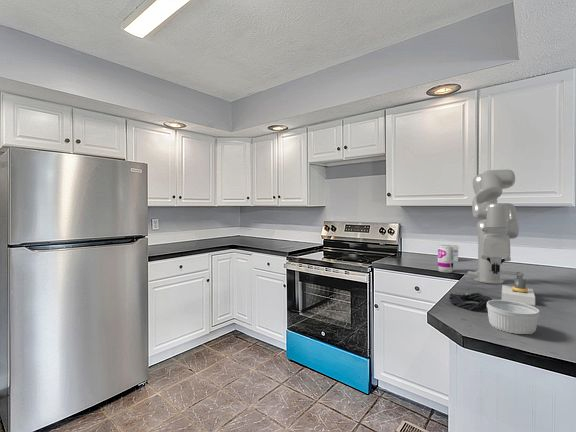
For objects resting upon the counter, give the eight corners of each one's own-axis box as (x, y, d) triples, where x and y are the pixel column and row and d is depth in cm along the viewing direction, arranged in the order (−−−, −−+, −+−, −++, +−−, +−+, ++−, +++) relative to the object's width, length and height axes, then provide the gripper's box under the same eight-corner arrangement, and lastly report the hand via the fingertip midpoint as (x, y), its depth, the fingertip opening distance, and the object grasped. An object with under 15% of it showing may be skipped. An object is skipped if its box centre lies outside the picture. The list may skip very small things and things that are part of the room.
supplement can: (444, 273, 175) (445, 247, 174) (434, 270, 183) (434, 245, 182) (456, 272, 177) (456, 246, 177) (445, 269, 185) (446, 244, 184)
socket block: (501, 300, 123) (502, 280, 123) (502, 291, 136) (502, 273, 136) (535, 305, 117) (535, 284, 117) (532, 295, 130) (532, 276, 130)
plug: (511, 298, 125) (512, 279, 125) (511, 295, 129) (512, 277, 129) (527, 301, 122) (528, 281, 122) (527, 298, 126) (527, 278, 126)
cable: (494, 315, 107) (494, 303, 106) (448, 308, 113) (449, 297, 113) (488, 302, 122) (489, 291, 122) (449, 297, 128) (449, 286, 128)
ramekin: (547, 340, 86) (547, 316, 86) (492, 333, 91) (492, 310, 90) (529, 323, 98) (530, 302, 98) (482, 318, 103) (482, 297, 103)
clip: (488, 272, 138) (488, 268, 138) (523, 275, 131) (523, 271, 131) (488, 273, 136) (488, 269, 136) (523, 276, 129) (523, 272, 129)
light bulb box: (441, 260, 218) (441, 245, 217) (440, 259, 224) (441, 244, 224) (458, 261, 213) (458, 246, 213) (457, 260, 220) (457, 245, 219)
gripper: (475, 231, 134) (474, 272, 134) (518, 232, 126) (517, 277, 126) (476, 230, 141) (476, 270, 141) (517, 232, 132) (516, 274, 132)
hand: (495, 273), depth 133 cm, fingers closed
